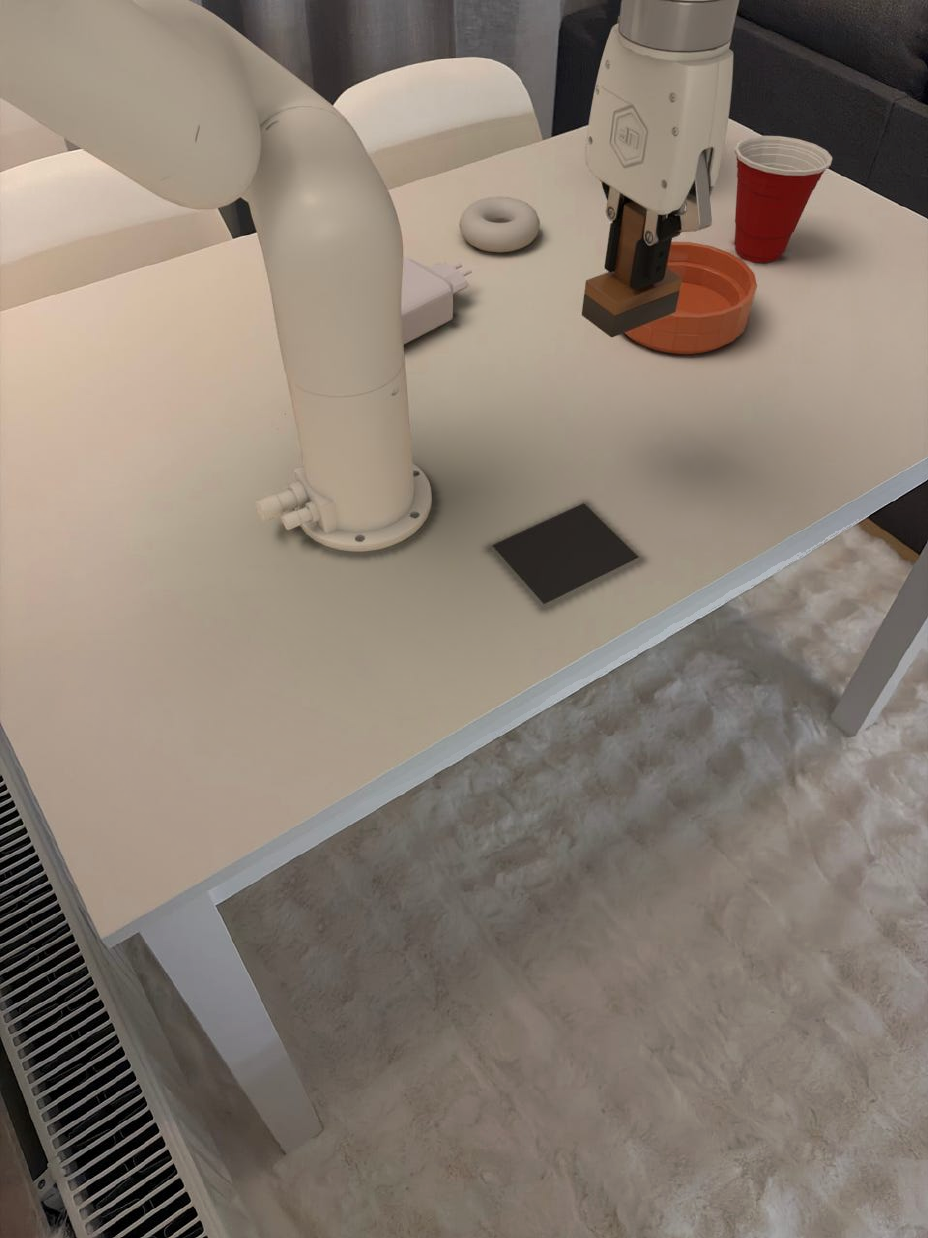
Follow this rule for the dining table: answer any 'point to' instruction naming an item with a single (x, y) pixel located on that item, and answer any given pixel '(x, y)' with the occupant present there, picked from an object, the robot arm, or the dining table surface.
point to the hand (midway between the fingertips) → (634, 273)
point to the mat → (564, 552)
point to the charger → (428, 296)
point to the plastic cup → (773, 192)
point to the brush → (628, 285)
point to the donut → (499, 224)
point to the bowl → (702, 302)
